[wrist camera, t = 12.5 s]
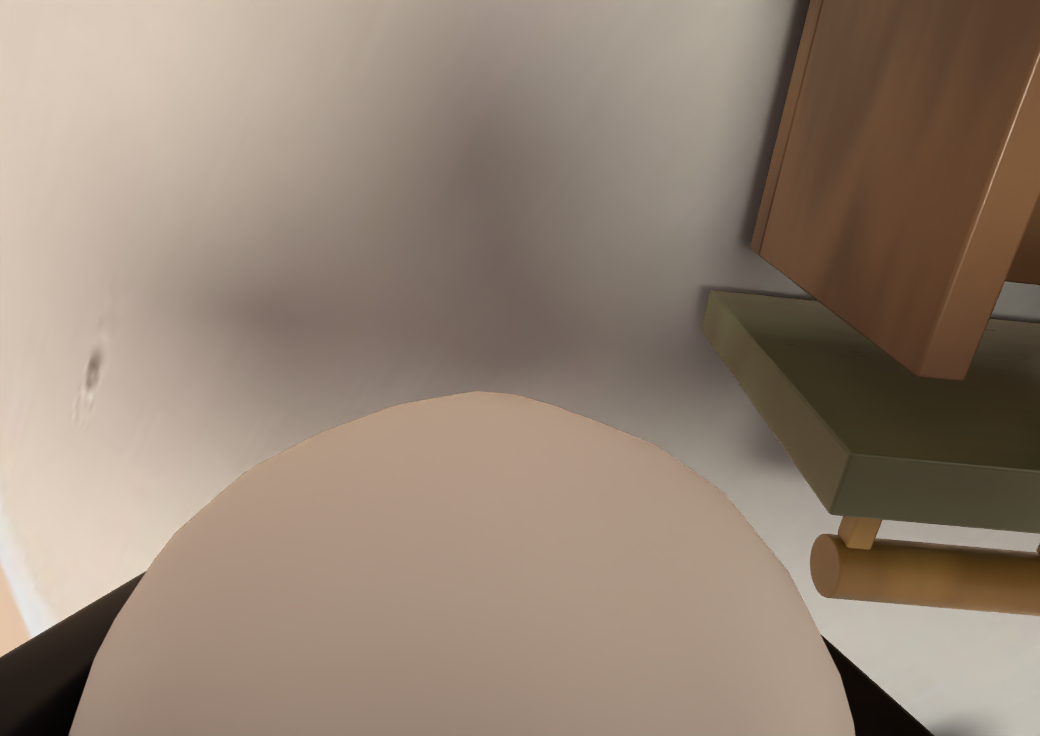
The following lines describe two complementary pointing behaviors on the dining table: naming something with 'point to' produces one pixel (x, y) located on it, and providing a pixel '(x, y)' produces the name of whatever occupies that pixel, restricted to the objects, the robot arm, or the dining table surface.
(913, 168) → the drawer
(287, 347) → the dining table surface
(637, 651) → the plain white apple
